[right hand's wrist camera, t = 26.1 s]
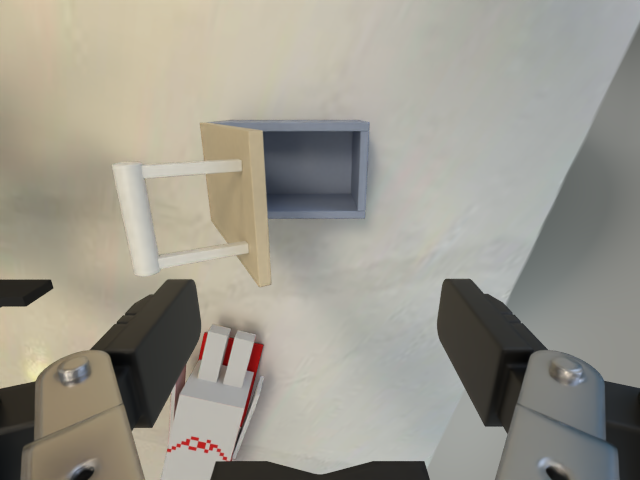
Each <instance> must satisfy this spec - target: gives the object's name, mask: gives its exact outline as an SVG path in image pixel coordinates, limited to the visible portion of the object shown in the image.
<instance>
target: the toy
mask: <svg viewBox="0 0 640 480" xmlns="http://www.w3.org/2000/svg"><path fill="white" fill-rule="evenodd" d="M230 331H231V328H227V327H223V326H219V325H214V324H212V326H211V328H210V329H209V331H208V333H206V332H205V333H204V336H203V341H202V346H201V350H200V355H199V360H198V362H197V364H196V366H195V368H194V369H193V371H192V373H191V375H190V377H189V378H188V380H187V382H186V384H185V373H186V365H185V367H184V369H183V371H182V373H181V374H180V376H179V378H178V380H177V382H176V384H175V386H174V388H173V390H172V391H171V406H170V424H169V442H168V449H167V453H166V458H165V462H164V467H163V471H162V476H161V480H210V479H211V476H212V472H213V469H214V465H215V462H216V461H232V459H236V456H237V453H238V451H239V448H240V446H241V443H242V440H243V438H244V435H245V433H246V430H247V427H248V425H249V422H250V420H251V417H252V414H253V412H254V409H255V407H256V404H257V401H258V399H259V396H260V392H261V388H262V384H263V380H264V376H260V379H259V382H258V384H257V387H256V390H255V392H254V395H253V397H252V400H251V403H250V405H249V401H250V397H251V393H252V389H253V385H254V381H255V377H256V373H257V368H258V364H259V360H260V356H261V352H262V348H263V345H262V344H257V343H254V341H255V337H256V334H252V333H248V332H244V331H240V330H238V331H237V333H236V336H235V338H229V335H230ZM248 405H249V408H248ZM247 409H248V411H247ZM239 427H241V429H240V432H239V434H238V431H239ZM237 434H238V438H237ZM236 438H237V441H236ZM235 442H236V445H235ZM234 446H235V448H234ZM233 449H234V452H233Z"/></svg>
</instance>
